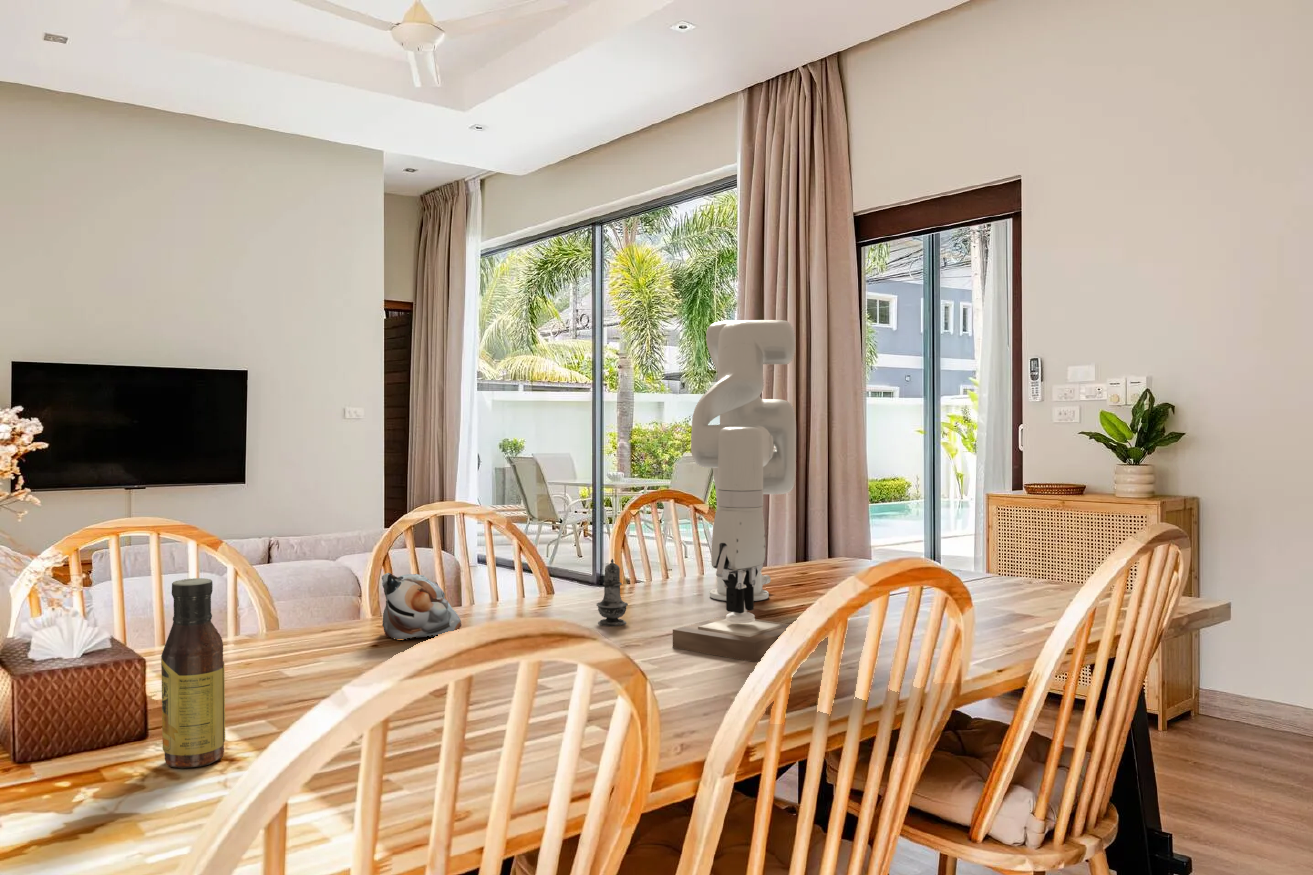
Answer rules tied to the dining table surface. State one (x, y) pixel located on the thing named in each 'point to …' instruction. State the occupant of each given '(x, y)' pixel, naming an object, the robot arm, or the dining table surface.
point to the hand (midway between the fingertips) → (739, 609)
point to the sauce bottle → (193, 680)
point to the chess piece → (741, 617)
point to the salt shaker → (612, 598)
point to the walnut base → (729, 638)
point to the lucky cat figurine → (416, 608)
